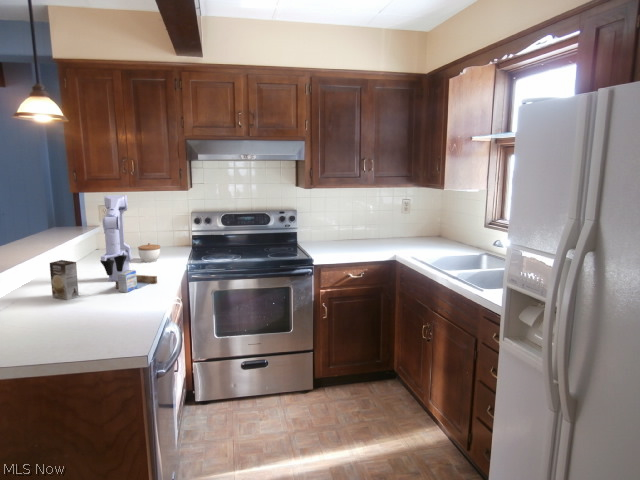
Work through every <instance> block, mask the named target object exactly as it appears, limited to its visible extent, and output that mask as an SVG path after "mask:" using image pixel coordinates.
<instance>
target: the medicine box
mask: <svg viewBox="0 0 640 480" xmlns="http://www.w3.org/2000/svg"><path fill="white" fill-rule="evenodd" d="M136 275H137V270H134V269H130V270H127V271H125V272H122V273H120V274H118V284H119V289H118V292H119V293H129V292H131V291H133V290H134V289H135V288H137V277H136ZM135 290H136V289H135Z"/></svg>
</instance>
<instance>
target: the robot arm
mask: <svg viewBox="0 0 640 480" xmlns="http://www.w3.org/2000/svg"><path fill="white" fill-rule="evenodd" d="M128 203H129V202H128V196H127V195H126V194H121V195H120V194H118V195H117V194H115V195H114V194H110V195H109V194H106V195H104V207H105V208H106V212H105V216H104V217H103V218H102V227H103V233H104V239H105V252H106V253H105V254H103V255H101V256H100V260H99V261H100V263H101V265H102V266H103V268H104V270H105V273H106V276H108V281H112V282H116V281H118V274H120V273H122V272H125V271H127V270H131V269H130V262H131V261H132V258H133V255H132V253H133V252H132V249H131V246H130V245H129V244H127V243H126V242H125V229H124V228H125V226H124V212H126V211H128V209H129V207H128Z"/></svg>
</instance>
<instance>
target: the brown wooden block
mask: <svg viewBox="0 0 640 480" xmlns="http://www.w3.org/2000/svg"><path fill="white" fill-rule="evenodd" d="M136 277H137V282H142V283H150V284H151V285H153V284H154V285H157V284H158V276H157V275H146V274H145V275H144V274H142V275H141V274H136ZM115 289H116V290H119V284H118V281H115Z"/></svg>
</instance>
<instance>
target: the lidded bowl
mask: <svg viewBox="0 0 640 480" xmlns="http://www.w3.org/2000/svg"><path fill="white" fill-rule="evenodd" d="M137 250H138V256H139V257H140V260H142V261H143V262H144V263H153V262H154V261H155V262H157V260H158V259H159V258H160V256H161V245H159V244H151V243H150V242H149V243H147V244H142V245H139V246H137Z"/></svg>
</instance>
